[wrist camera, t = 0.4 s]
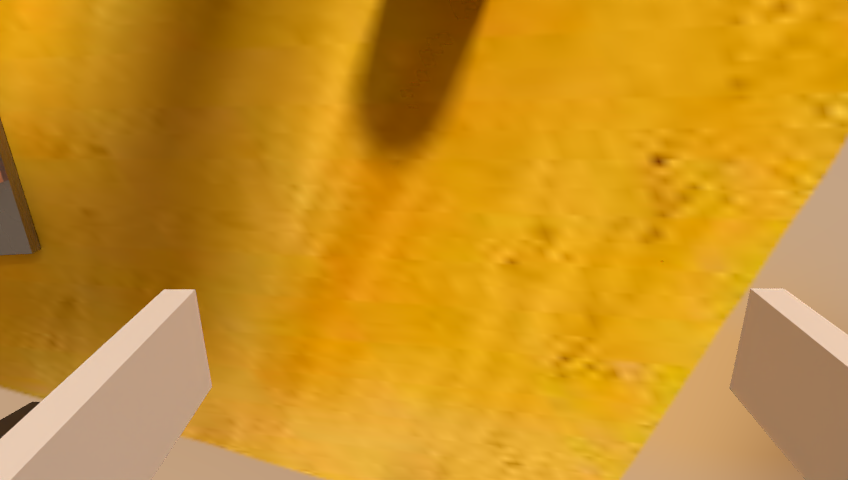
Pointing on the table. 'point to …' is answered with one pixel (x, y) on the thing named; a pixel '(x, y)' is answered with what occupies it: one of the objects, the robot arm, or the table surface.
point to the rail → (14, 208)
